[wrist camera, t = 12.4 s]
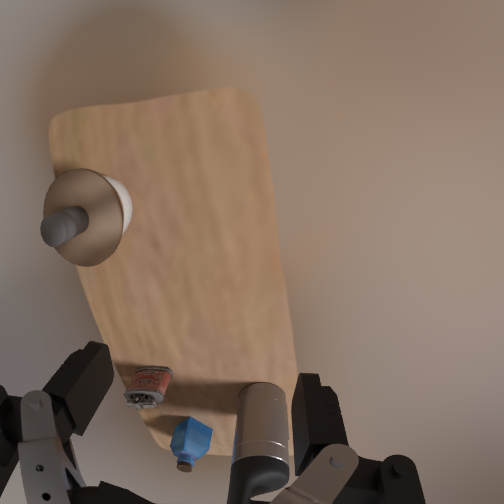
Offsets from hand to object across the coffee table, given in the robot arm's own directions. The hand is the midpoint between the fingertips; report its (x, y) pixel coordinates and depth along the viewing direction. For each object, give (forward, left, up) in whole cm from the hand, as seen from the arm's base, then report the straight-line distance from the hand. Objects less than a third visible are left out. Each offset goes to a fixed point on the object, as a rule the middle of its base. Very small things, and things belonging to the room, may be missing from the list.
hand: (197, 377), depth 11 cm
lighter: (-16, +33, -34) cm, 50 cm away
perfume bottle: (-34, +38, -34) cm, 61 cm away
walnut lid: (+13, +17, -25) cm, 33 cm away
